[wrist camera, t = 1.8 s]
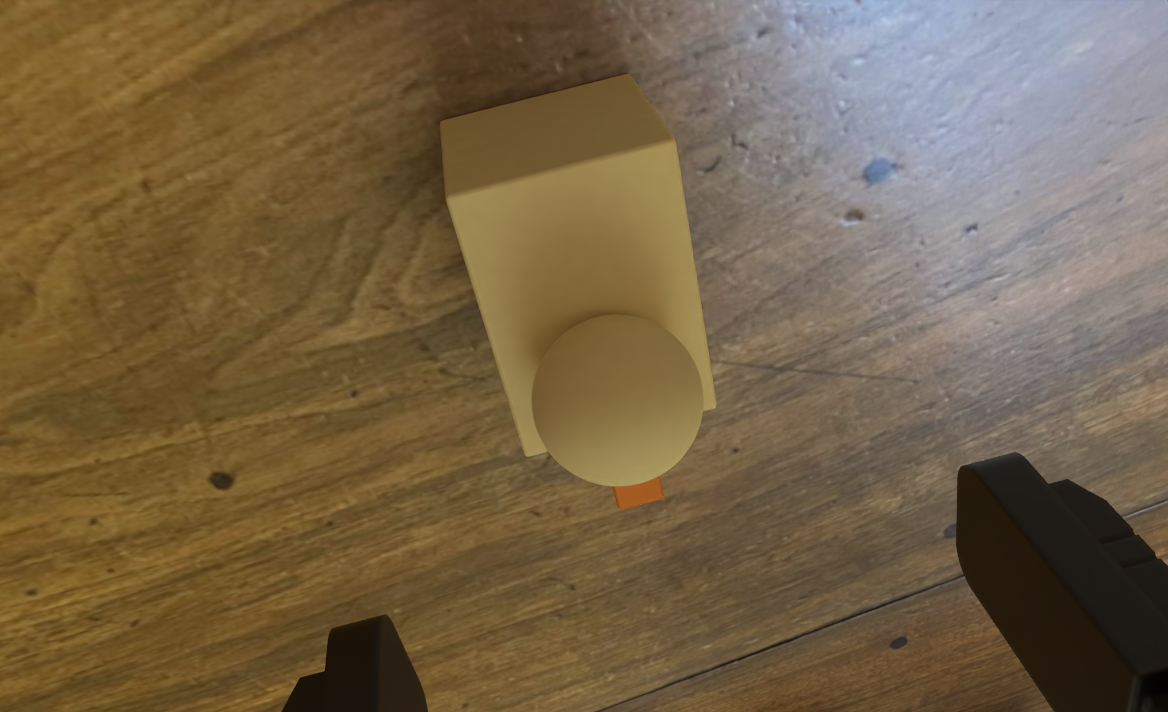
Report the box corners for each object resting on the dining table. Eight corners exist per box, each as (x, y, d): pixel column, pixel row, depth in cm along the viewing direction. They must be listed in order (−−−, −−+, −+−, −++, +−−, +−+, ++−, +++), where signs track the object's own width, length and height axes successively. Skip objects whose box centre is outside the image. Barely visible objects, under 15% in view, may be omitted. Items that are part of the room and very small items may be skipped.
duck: (438, 119, 21) (450, 271, 15) (630, 71, 21) (720, 202, 15) (515, 378, 25) (549, 583, 19) (676, 337, 25) (763, 526, 19)
